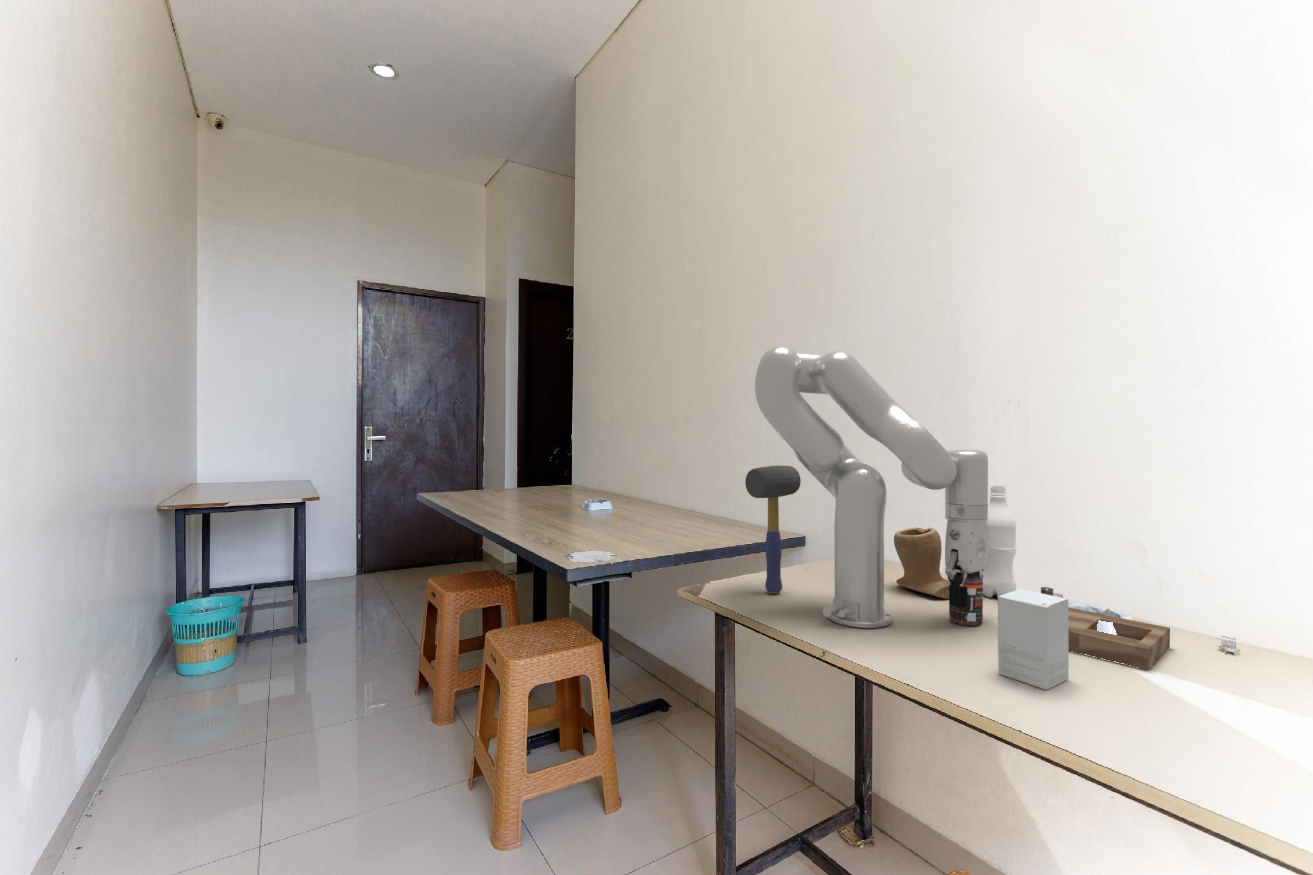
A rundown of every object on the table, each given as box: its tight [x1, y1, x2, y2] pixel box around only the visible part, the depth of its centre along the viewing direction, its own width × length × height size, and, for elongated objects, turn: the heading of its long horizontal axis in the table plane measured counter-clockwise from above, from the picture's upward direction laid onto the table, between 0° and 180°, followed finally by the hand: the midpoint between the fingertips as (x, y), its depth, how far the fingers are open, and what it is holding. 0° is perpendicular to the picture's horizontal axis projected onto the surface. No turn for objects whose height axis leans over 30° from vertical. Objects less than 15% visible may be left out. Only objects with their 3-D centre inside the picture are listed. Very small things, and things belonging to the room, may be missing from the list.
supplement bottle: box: [948, 567, 984, 627], centre depth 119 cm, size 6×6×11 cm
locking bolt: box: [1040, 586, 1064, 598], centre depth 117 cm, size 8×3×4 cm, turn 129°
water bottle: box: [982, 485, 1017, 598], centre depth 136 cm, size 7×7×25 cm
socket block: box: [1068, 606, 1171, 671], centre depth 109 cm, size 15×22×4 cm
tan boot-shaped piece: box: [893, 527, 949, 600], centre depth 139 cm, size 15×12×15 cm
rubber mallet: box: [744, 465, 802, 595], centre depth 140 cm, size 12×8×30 cm, turn 125°
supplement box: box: [997, 588, 1070, 691], centre depth 94 cm, size 7×7×13 cm
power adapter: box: [1214, 634, 1241, 657], centre depth 102 cm, size 3×3×3 cm
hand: (965, 601), depth 119 cm, fingers closed on supplement bottle, 5 cm apart
